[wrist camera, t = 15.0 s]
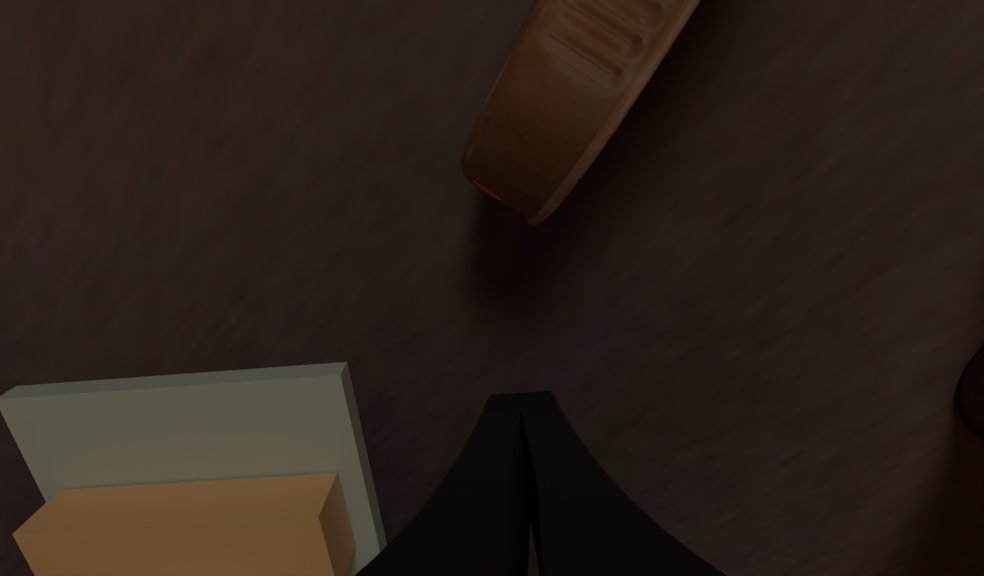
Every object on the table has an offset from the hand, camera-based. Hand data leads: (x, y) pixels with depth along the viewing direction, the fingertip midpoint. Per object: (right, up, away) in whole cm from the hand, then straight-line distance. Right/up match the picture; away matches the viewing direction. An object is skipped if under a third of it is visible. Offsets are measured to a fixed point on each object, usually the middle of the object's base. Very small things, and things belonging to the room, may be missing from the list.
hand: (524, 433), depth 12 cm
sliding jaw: (-13, -7, +12) cm, 19 cm away
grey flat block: (-13, -8, +14) cm, 20 cm away
